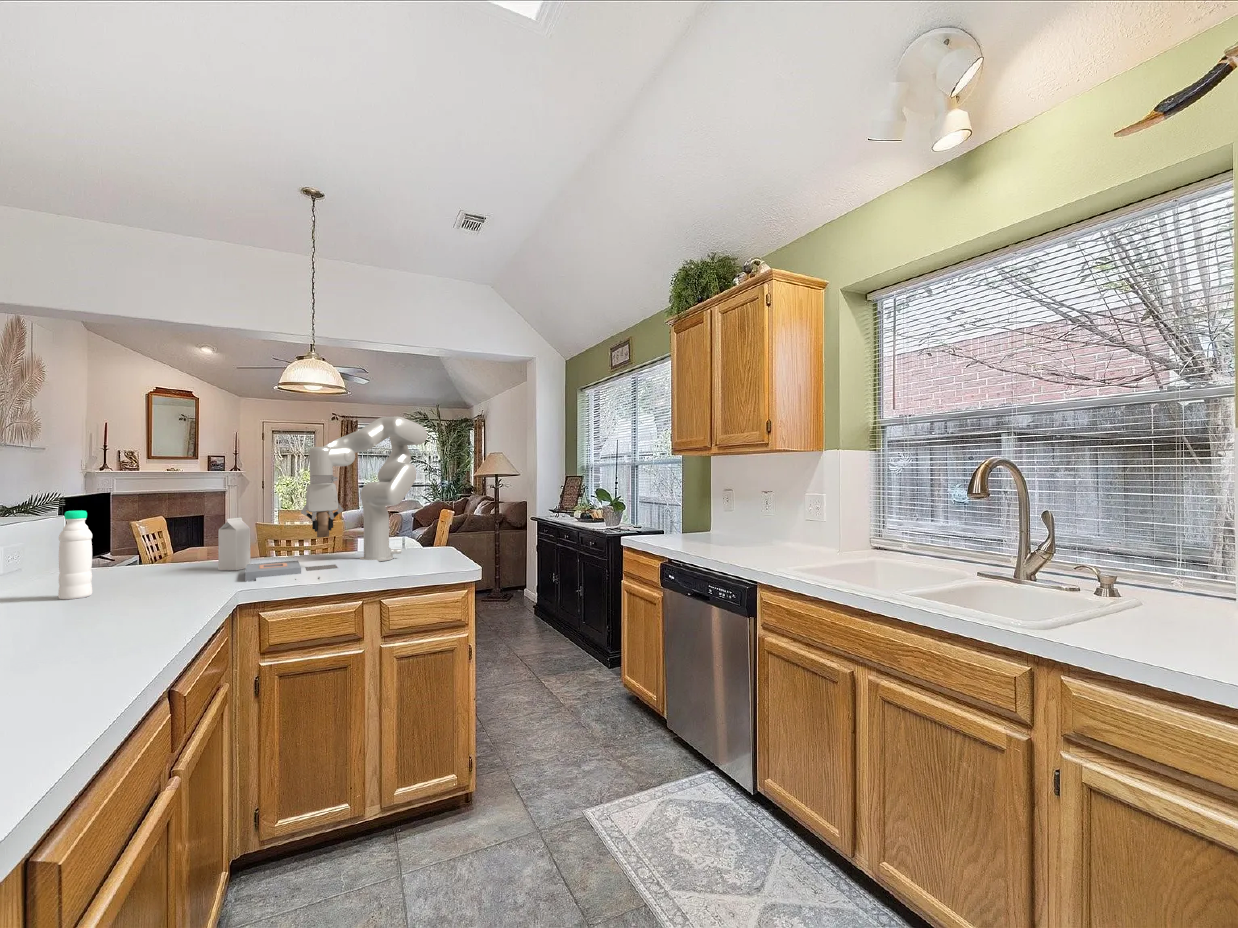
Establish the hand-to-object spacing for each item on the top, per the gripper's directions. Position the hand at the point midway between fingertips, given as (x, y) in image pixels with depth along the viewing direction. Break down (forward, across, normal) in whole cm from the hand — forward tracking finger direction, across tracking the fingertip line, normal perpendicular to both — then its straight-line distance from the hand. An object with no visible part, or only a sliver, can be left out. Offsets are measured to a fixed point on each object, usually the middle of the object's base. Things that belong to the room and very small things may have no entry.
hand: (323, 530), depth 208 cm
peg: (+2, 0, 0) cm, 2 cm away
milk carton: (+14, +28, -22) cm, 39 cm away
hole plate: (+14, +16, +1) cm, 21 cm away
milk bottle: (+13, +65, +11) cm, 67 cm away
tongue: (+14, +1, +1) cm, 15 cm away
